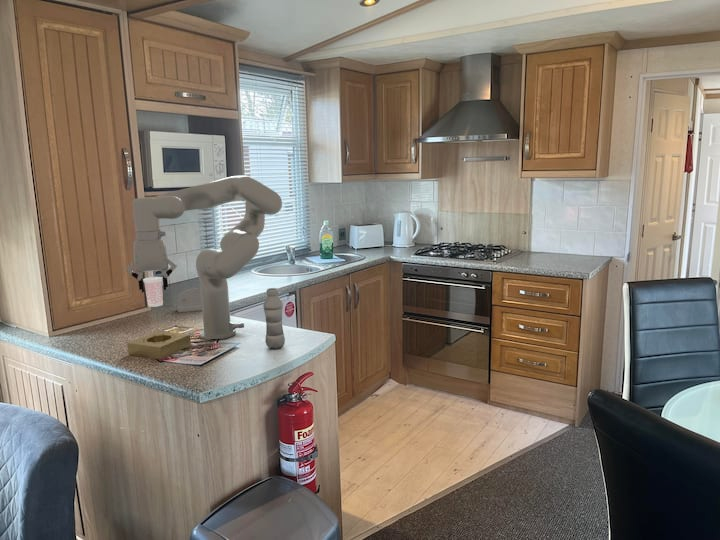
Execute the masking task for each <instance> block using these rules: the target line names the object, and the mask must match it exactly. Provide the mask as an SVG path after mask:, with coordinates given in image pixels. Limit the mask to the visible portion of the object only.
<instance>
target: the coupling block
mask: <svg viewBox="0 0 720 540" xmlns="http://www.w3.org/2000/svg"><path fill="white" fill-rule="evenodd" d="M191 342H192V341H191V334H189V333H180V332H174V331H173V332H171V331H163V330H156V331H154V332H151V333H149V334H146V335H145V336H142V337H139V338H137V339H134V340H132V341H131V340H130V341H128V342H127V343H126V345H127V346H126V347H127V353H128V355H130V356H135V357H136V356H137V357H144V358H149V359H157V360H163V359H165V358H167V357H169V356H171V355H174V354H175V353H178V352H180V350H181V351H182V349H183V350H185V349H187V348H189V347H191V346H192V343H191ZM190 345H191V346H190ZM188 346H189V347H188ZM186 347H187V348H186ZM184 348H185V349H184Z"/></svg>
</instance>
